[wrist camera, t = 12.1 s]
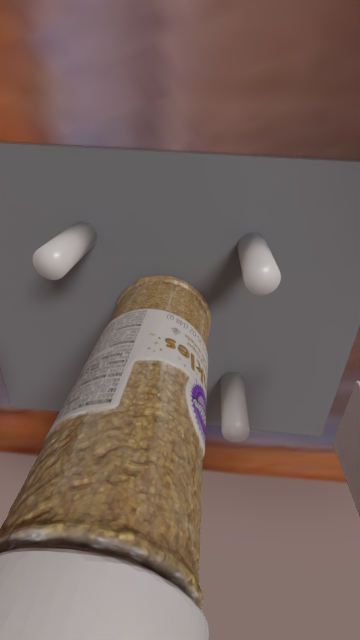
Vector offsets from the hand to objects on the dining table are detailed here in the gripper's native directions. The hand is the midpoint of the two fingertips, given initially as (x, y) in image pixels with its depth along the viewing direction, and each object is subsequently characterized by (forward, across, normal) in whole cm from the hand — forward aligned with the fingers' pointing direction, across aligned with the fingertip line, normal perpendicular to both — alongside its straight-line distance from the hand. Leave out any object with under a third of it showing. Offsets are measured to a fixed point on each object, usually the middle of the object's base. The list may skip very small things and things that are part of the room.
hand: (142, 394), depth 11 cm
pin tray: (+7, 0, 0) cm, 7 cm away
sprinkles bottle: (+6, 0, 0) cm, 6 cm away
